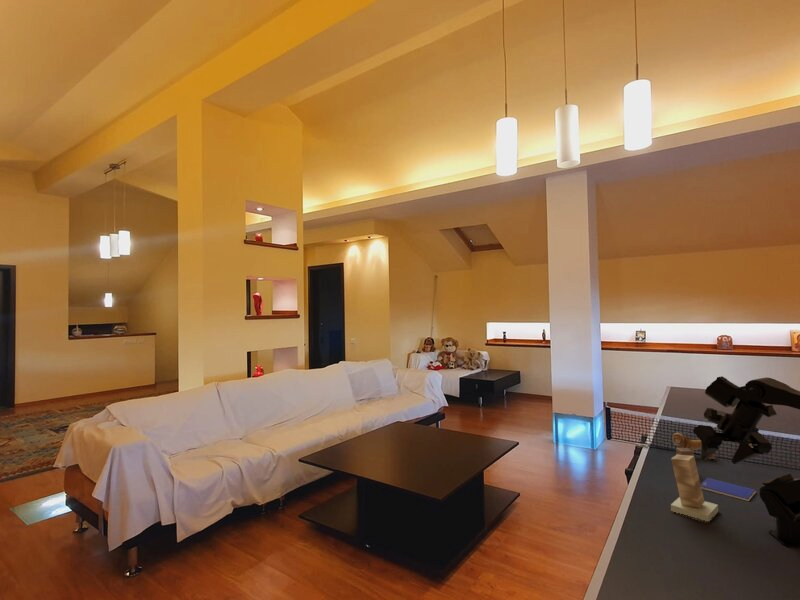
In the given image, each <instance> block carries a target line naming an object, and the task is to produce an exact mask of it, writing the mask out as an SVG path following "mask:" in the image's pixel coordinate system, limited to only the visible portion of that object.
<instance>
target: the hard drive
mask: <svg viewBox="0 0 800 600" xmlns="http://www.w3.org/2000/svg"><path fill="white" fill-rule="evenodd" d="M700 484H701V488H702V490H705V491H709V492H712V493H716V494H720V495H724V496H728V497H731V498H735V499H739V500H743V501H746V502H749V501H751V499H752V498H753V496H754V495H755V494H756V489H753V488H749V487H744V486H740V485H738V484H733V483H729V482H725V481H721V480H718V479H714V478H709V477H707V478H706V479H705V480H704V481H703V482H701V483H700Z"/></svg>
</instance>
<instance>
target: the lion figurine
mask: <svg viewBox="0 0 800 600" xmlns="http://www.w3.org/2000/svg"><path fill="white" fill-rule="evenodd" d="M671 439H672V443H673V444H674V445H675V446H677V448H688V449H690V450H692V451H694V450H695V451H696V450H700V449H701V448H702V444H701V440H700V439H692V438H690V437H689V436H687V435H684V434H683V433H681V432H675V433H673V434H672V438H671ZM717 456H718V455H716V454H715V453H713V454H712V455H711V456H710V458H711V459H714V460H715V458H718V457H717ZM711 459H710V460H711Z"/></svg>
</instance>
